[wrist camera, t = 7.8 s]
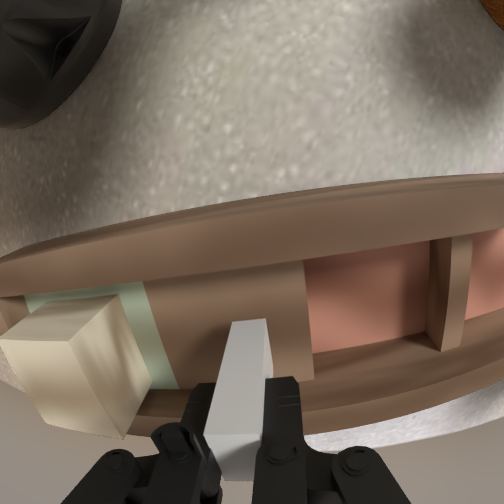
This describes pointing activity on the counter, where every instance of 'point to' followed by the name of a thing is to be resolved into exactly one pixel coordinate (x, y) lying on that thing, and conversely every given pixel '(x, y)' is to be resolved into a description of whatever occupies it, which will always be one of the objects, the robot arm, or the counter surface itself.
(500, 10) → the disposable coffee cup
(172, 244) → the box
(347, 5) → the counter surface
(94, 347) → the birch block
